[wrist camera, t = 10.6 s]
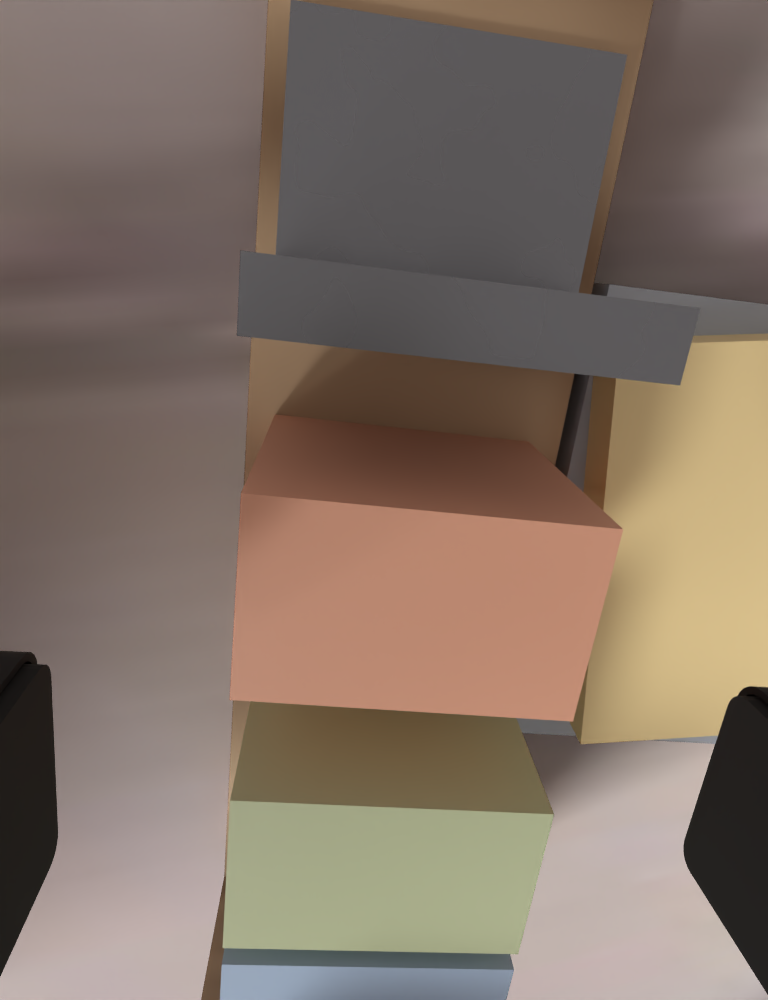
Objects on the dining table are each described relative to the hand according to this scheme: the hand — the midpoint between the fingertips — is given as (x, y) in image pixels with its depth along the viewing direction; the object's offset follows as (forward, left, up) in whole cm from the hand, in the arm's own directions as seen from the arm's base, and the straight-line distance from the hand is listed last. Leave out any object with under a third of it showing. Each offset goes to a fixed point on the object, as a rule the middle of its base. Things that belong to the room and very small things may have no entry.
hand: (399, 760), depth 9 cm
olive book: (-6, -1, -9) cm, 11 cm away
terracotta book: (+1, -1, -9) cm, 9 cm away
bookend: (+8, -1, -9) cm, 12 cm away
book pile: (0, -9, -11) cm, 14 cm away
